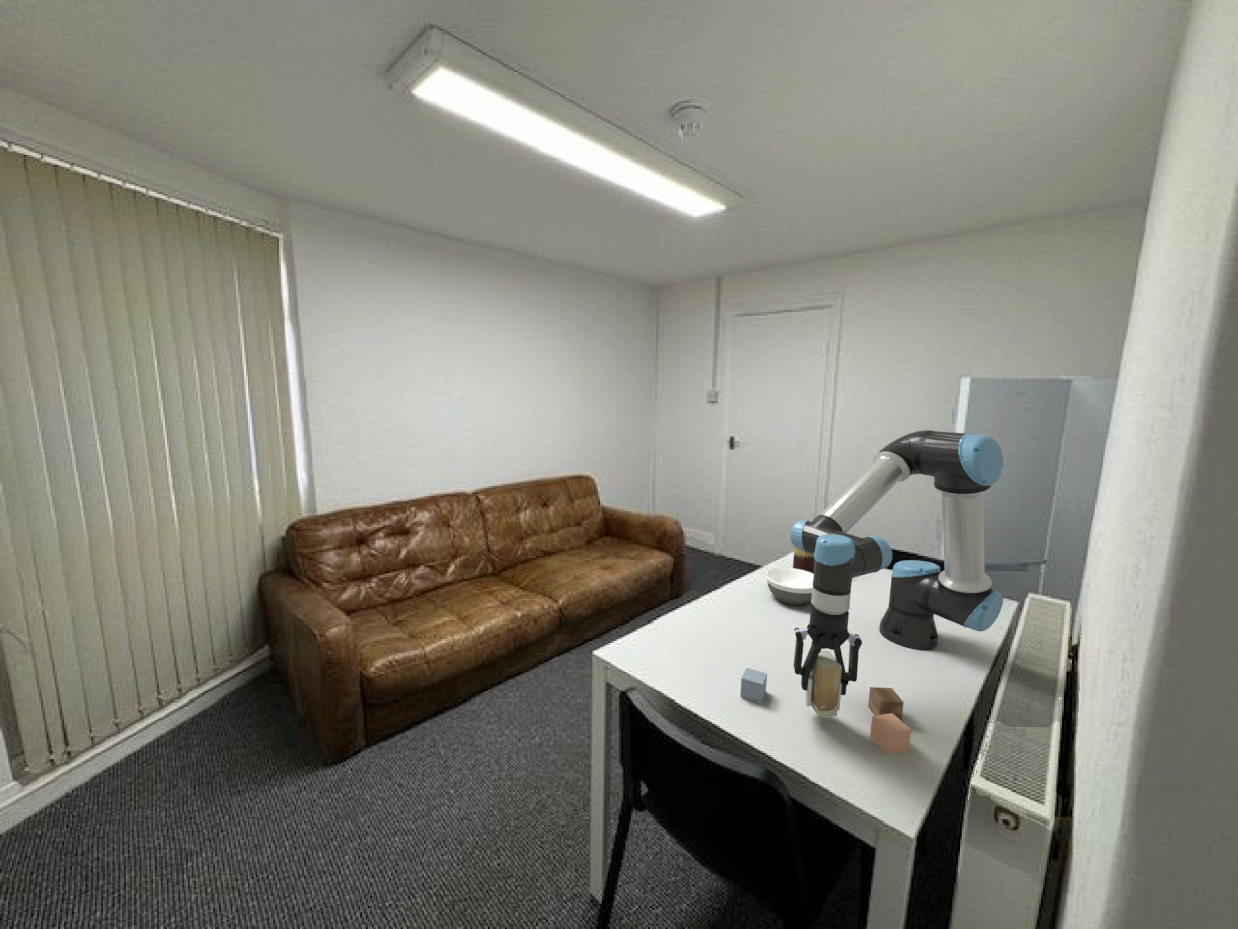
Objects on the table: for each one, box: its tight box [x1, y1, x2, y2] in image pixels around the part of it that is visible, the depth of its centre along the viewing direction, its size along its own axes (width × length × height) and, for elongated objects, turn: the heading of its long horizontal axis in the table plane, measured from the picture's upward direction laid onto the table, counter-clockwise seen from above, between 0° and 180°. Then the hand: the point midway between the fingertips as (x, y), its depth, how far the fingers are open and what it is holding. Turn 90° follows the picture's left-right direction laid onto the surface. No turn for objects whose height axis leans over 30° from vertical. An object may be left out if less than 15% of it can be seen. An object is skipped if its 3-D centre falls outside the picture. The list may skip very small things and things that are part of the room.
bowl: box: [765, 567, 814, 606], centre depth 167 cm, size 19×19×8 cm
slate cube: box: [740, 667, 768, 705], centre depth 115 cm, size 5×5×5 cm
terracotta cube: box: [869, 713, 912, 755], centre depth 99 cm, size 5×5×5 cm
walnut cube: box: [867, 686, 904, 721], centre depth 108 cm, size 5×5×5 cm
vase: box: [792, 546, 814, 574], centre depth 190 cm, size 11×11×20 cm
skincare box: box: [810, 650, 842, 718], centre depth 105 cm, size 6×4×12 cm
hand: (821, 704), depth 106 cm, fingers closed on skincare box, 5 cm apart
